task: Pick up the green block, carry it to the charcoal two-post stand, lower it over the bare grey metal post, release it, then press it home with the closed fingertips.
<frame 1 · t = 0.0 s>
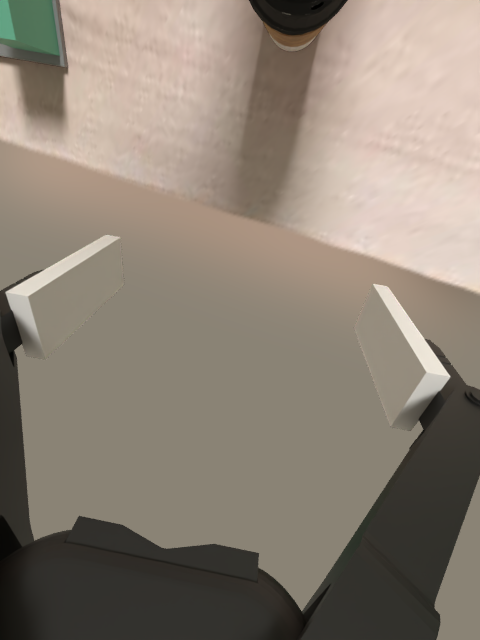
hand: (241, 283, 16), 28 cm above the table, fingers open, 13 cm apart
coffee cup: (295, 13, 30), on the table
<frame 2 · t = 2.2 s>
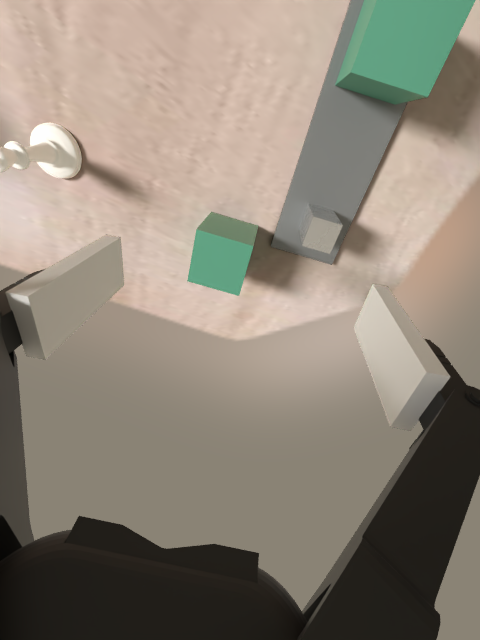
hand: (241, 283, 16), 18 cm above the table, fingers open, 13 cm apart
post: (315, 218, 31), resting on stand
green block: (229, 241, 33), on the table
stand: (340, 153, 27), on the table
chess piece: (59, 151, 30), on the table
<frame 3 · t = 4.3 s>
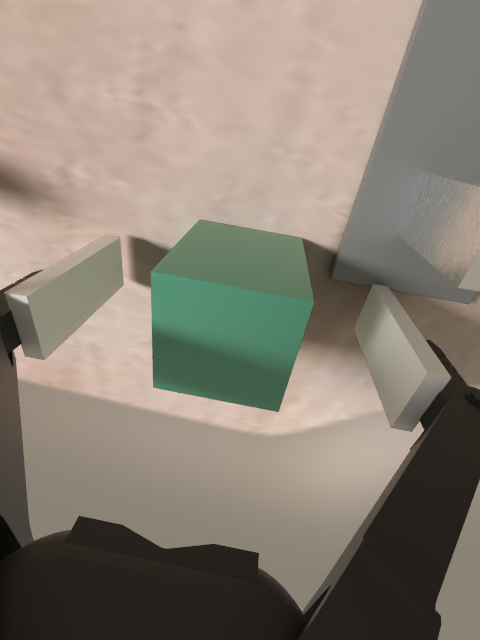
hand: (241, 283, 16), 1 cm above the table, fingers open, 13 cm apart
post: (434, 207, 13), resting on stand
green block: (242, 276, 16), on the table
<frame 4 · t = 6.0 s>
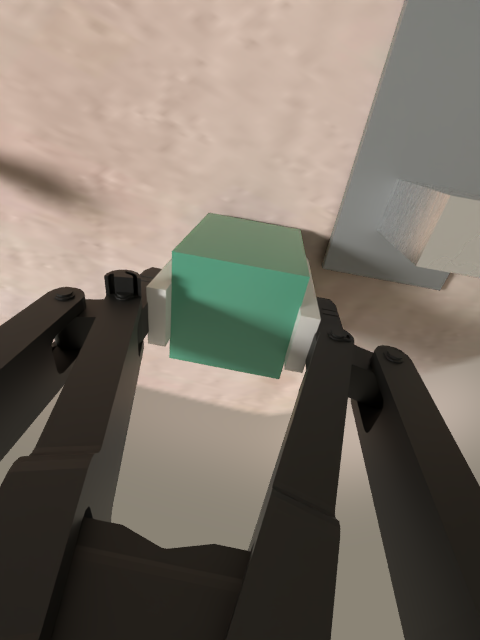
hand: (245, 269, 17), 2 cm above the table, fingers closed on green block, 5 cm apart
post: (407, 207, 16), resting on stand
green block: (247, 264, 18), point 1 cm above the table, touching gripper
stand: (469, 64, 13), on the table
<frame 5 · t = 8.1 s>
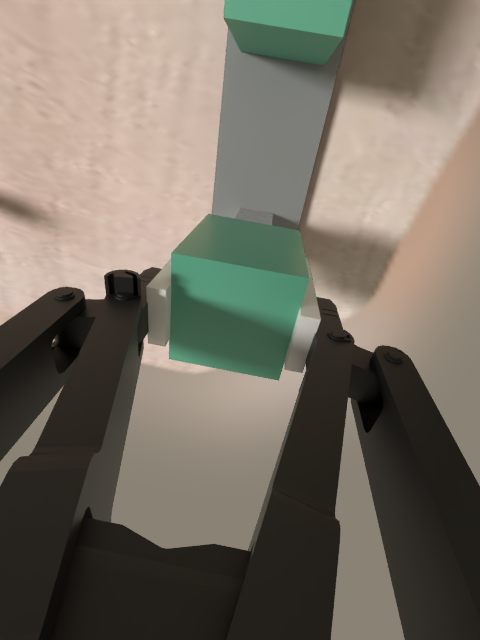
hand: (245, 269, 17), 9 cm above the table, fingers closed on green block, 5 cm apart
post: (254, 224, 24), resting on stand
green block: (246, 265, 18), point 8 cm above the table, touching gripper
stand: (268, 140, 21), on the table
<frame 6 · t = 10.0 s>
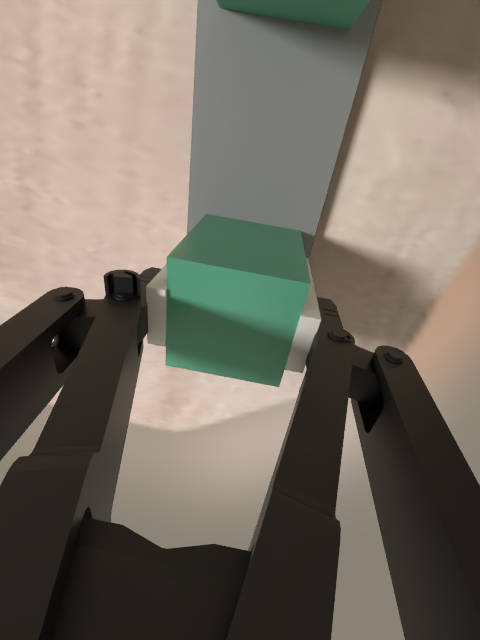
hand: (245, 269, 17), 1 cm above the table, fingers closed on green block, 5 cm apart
green block: (245, 266, 17), point 1 cm above the table, touching gripper, stand
stand: (264, 145, 15), on the table
when the fingers open (1 cm above the table, at t = 10.4 s): green block stays where it is, resting on stand.
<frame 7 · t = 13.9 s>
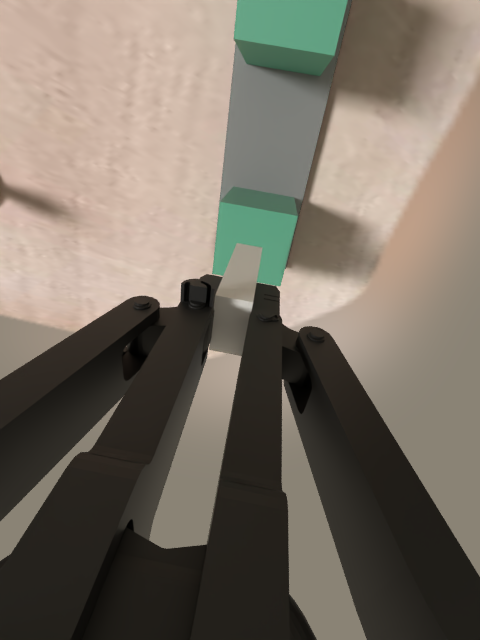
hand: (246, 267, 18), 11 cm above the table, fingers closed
green block: (258, 222, 26), point 1 cm above the table, touching stand
stand: (270, 142, 24), on the table
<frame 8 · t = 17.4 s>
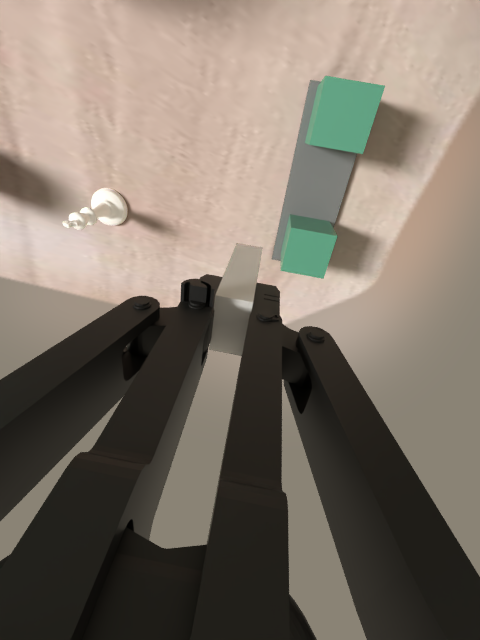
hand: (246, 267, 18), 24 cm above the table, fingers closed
green block: (304, 237, 40), point 1 cm above the table, touching stand
stand: (315, 187, 37), on the table
chess piece: (111, 206, 41), on the table
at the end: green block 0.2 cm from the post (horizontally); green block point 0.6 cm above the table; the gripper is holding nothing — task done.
